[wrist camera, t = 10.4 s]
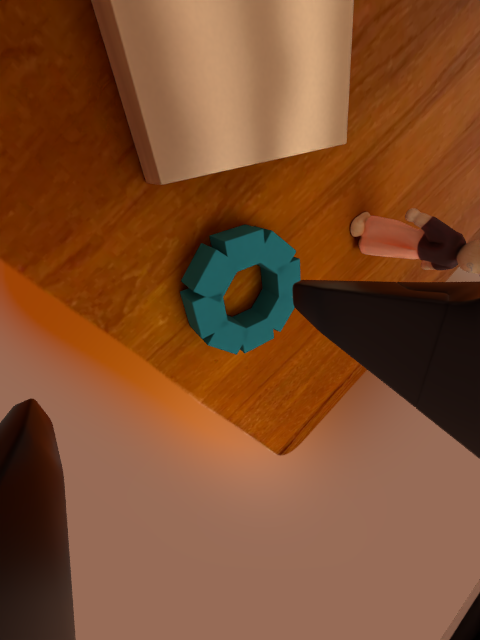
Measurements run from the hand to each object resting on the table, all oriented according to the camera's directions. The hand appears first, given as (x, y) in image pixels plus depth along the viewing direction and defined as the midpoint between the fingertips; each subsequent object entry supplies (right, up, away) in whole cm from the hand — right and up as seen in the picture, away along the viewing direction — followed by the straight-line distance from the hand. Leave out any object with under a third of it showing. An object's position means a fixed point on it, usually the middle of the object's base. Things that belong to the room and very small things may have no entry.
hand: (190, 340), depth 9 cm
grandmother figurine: (+15, +10, +20) cm, 27 cm away
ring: (+1, +3, +14) cm, 15 cm away
